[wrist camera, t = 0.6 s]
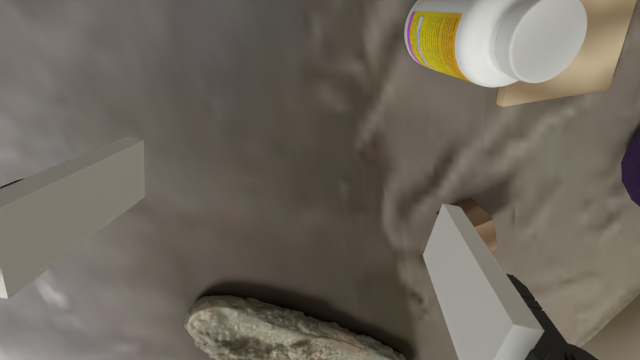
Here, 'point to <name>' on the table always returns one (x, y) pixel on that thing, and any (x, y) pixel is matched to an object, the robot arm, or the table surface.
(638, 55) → the table surface
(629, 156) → the decorative bottle
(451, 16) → the supplement bottle
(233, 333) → the long grey stone
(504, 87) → the pad
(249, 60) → the table surface
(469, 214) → the walnut block
